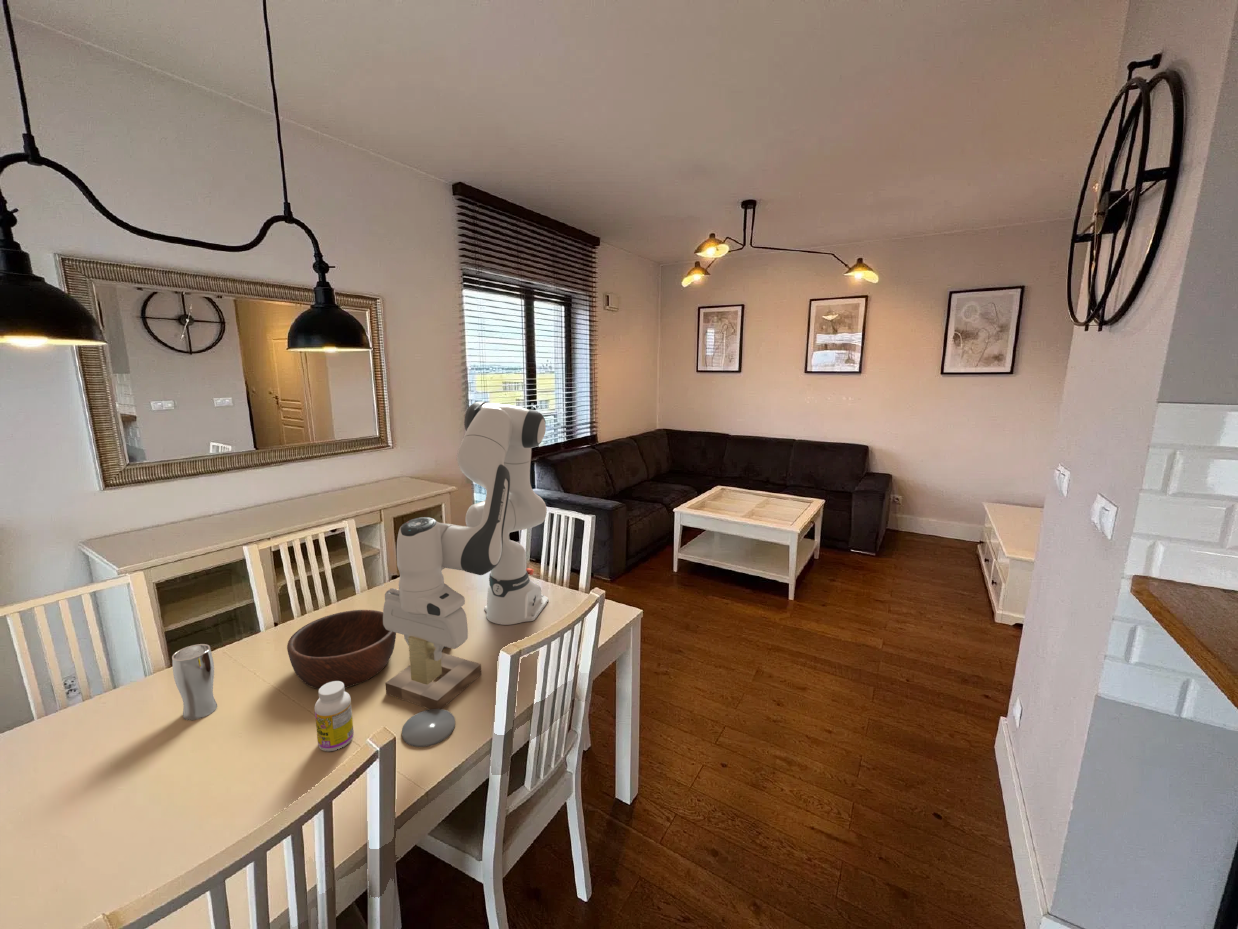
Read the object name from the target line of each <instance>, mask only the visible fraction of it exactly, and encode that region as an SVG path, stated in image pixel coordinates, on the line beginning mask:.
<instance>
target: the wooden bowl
mask: <svg viewBox="0 0 1238 929" xmlns="http://www.w3.org/2000/svg"><path fill="white" fill-rule="evenodd" d="M396 636H397V633H396V632H392V631H388V630H386V629H385V627H384V625H383V611H380V610H374V609H355V610H354V609H353V610H348V611H342V612H336V613H331V614H329V615H326V616H323V617H320V618H317V619H315V620H313V621H311V622H308V623H307V624H305V625H304V626H302V627H301V628H299V629H297V631H296V632H294V633H293V634H292V636H290V638H289V640H288V642H287V646H286V650H287V654H288V658H289V661H290V664H291V667H292V669H293V671H294V673H295V674H296V675H295V676H297V678H298V679H299V680H300V681H301V682H302V683H303V684H305V685H306V686H308V687H311V688H312V689H318V690H319V689H320V688H321V687H322V686H323V685H325V684H326V683H329V682H333V681H341V682H343V683H344V688H350V687H353V686H356V685H359V684H361V683H364V682H366V681H368V680H369V679H372V678H373V677H375V676H376V675H377V674H378V673H380V672H381V671H382V670H383V669H384V668H385V667H386V666H387V664H388V663H389V661H390V660H391V658H392V655H393V653H394V652H393V651H394V649H395V644H396Z"/></svg>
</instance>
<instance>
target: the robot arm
mask: <svg viewBox="0 0 1238 929" xmlns="http://www.w3.org/2000/svg"><path fill="white" fill-rule="evenodd" d="M463 423H464V430H465V433H464V435H463V438H462V440H461V442H460V444H459V446H458V450H457V454H456V462H457V466H458V468H459V470H460V472H461V473H462V474H463V475H464V476H465V477H466V478H467V479H468V480H470V481H471V482H473V483H474V484H476V485H478V486H480V487H482V488H484V490H485V492H486V493H485V494H486V496H485V499H484V500H482V501H480V502H477V503H474V504H472V505H470V506H469V507H468V509H467V511H466V514H465V525H458V524H452V523H448V522H447V523H446V522H445V523H444V522H439V521H437V520H436V519H435V518H432V517H428V516H424V517H423V516H421V517H416V518H412V519H409V520H408V521H406V522H404V523H403V524H401V526H400V527H399V530H398V534H397V540H396V566H397V569H398V571H399V581H398V589H396V588H389V589H388V590H386V592H385V594H384V604H383V608H382V609H383V610H382V612H383V625H384V627H385V629H386V630H388V631H392V632H396V634H400V635H403V639H404V641H405V642H406V645H407V647H409V642H408V637H409V636H413V637H416V638H420V639H424V640H427V642H431V643H434V647H436V649H435V650H434V651H432V652H431V659H432V660H435V661H438V660H439V659H441V657H442V653H443V649H445V648H444V646H445V647H446V648H449V649H453V650H455V649H458V648H460V647H461V646H462V645H463V644H464V643H465V642H466V641H468V638H469V635H468V634H469V631H468V619H467V618H468V617H467V614H466V611H465V609H464V608H463V606H464V605H465V603H466V599H465V596H464V595H463V594H461V593H459V592H458V591H456V590H454V589H453V588H452V587H450V586H449V585H448V584H446V583H445V578H444V575H443V570H444V569H448V570H449V569H450V570H455V571H456V570H457V571H463V572H465V573H470V574H473V575H477V576H484V575H486V574H488V573H489V572H490V573H489V576H488V581H489V586H488V587H487V597H486V605H484V612H486V619H487V620H488V621H489V622H491V623H493V624H496V625H505V626H507V625H516V624H519V623H524V622H525V623H526V622H532V621H535V620H536V619H537V618H538V616H539V615H540V614H541V612H542V611H543V609H544V608H545V607H546V605H547V604H548V603H549V597H547V596H546V595H544V594H542V587H541V585H540V584H538V583H537V582H535V581H534V580H532V579H530V576H533V575H534V568H529V567H527V551H526V548H525V547H524V546H523V545H522V544H521V543H519V542H517V541H514V540H511V539H510V533H513V532H518V531H524V530H529V529H532V528H535V527H537V526H540V525H541V524H543V523H544V521H545V519H546V517H547V513H548V512H547V505H546V502H545V501H544V499H543V498H542V497H541V496H540V495H538V494H537V493H535V491H534V489H533V488H532V483H531V460H532V449H533V448H536V447H538V446H539V445H541V443H542V441H543V439H544V437H545V434H546V430H547V428H546V427H547V426H546V419H545V417H544V415H543V413H541V412H539V411H537V410H535V409H527V408H525V407H521V406H517V405H513V404H506V403H505V404H504V403H503V404H502V403H496V402H495V403H494V402H487V401H475V402H473V403H472V404H471V405H469V406H468V408H467V409H466V412H465V415H464V422H463ZM529 575H530V576H529ZM547 602H548V603H547Z"/></svg>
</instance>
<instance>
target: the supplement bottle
mask: <svg viewBox="0 0 1238 929" xmlns="http://www.w3.org/2000/svg"><path fill="white" fill-rule="evenodd" d="M317 693H318V699H317V701H316V702H315V704H314V716H315V726H316V738H317V744H318V748H319V749H320V750H321V751H324V752H335V751H338V750H340V748H341V749H343V748H345V747H346V746H348V745H349V743H351V742H352V740H353V738H354V724H353V722H354V720H353V711H352V699H351V694H349V692H347V691H346V690H345V688H344V683H343V682H341V681H333V682H329V683H326V684H325V685H323V686H322V687H321V688H320V689H318V692H317ZM342 747H343V748H342ZM337 749H338V750H337Z"/></svg>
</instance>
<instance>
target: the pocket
mask: <svg viewBox="0 0 1238 929" xmlns="http://www.w3.org/2000/svg"><path fill="white" fill-rule="evenodd" d="M441 666H442V674H441V675H439V676H438V677H440V679H438V680H437V681H432V682H430V683H429V684H428V685H426V684H423V683H420V682H416V681H413V680H411V670H410V665H409V666H407V667H406V668H404V669H403V670H401V671H400V672H399V673H397V674H395V675H394V676H393V677H391V678H390V679H388V680H387V681H386V682H384V683H385V685H384V686H385V694H386V695H388V696H391V697H393V698H398V699H399V700H403V701H406V702H408V703H411V704H415V705H416V706H419V707H423V708H424V709H427V710H429V709H443V708H445V707H446V706H447V705H448V704H449V703H450V702H452V700H453V699H455V698H456V697H458V695H459V694H461V693H462V692H463V691H464V690H465V689H466V688H468V687H469V686H470V685H471V684H472V683H473V682H474V681H476V680H477V679H478V678H479V677H480V676H481V675H482V664H481V663H478V662H475V661H473V660H468V659H465V658H462V657H459V656H455V655H452V654H449V653H445V652H442V657H441Z"/></svg>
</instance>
